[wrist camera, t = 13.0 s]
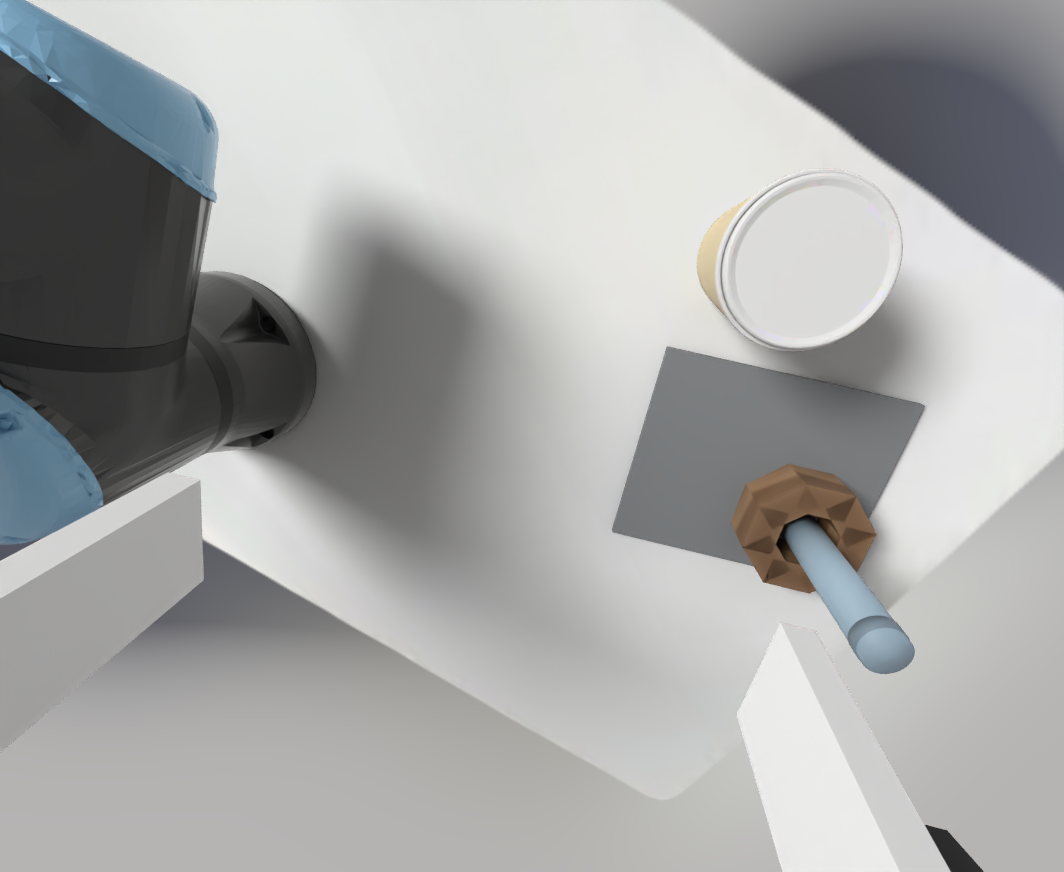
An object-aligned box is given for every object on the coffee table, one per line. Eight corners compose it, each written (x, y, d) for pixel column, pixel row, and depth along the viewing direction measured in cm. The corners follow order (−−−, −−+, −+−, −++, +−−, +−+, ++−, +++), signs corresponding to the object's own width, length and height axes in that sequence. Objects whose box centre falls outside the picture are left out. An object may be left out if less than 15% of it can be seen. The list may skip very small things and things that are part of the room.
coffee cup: (812, 317, 39) (897, 347, 28) (684, 328, 41) (717, 360, 30) (823, 181, 36) (923, 154, 25) (684, 197, 38) (720, 178, 26)
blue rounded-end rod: (767, 526, 45) (850, 667, 30) (779, 497, 44) (872, 628, 29) (800, 534, 45) (901, 679, 30) (814, 505, 44) (925, 640, 29)
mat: (612, 528, 48) (612, 531, 47) (667, 346, 41) (667, 347, 41) (831, 581, 47) (834, 585, 46) (920, 403, 41) (925, 405, 40)
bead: (720, 547, 46) (731, 574, 42) (756, 456, 43) (771, 476, 39) (822, 572, 46) (842, 601, 42) (866, 481, 43) (892, 504, 39)
